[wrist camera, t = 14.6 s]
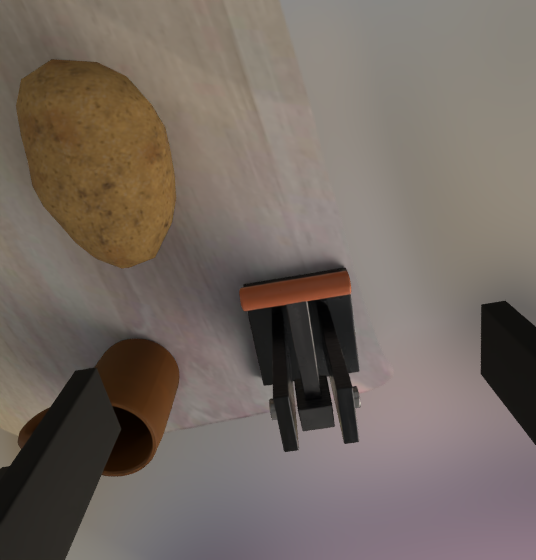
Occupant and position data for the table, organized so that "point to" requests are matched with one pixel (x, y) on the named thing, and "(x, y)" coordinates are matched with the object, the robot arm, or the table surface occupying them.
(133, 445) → the mug
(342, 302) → the bracket
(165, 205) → the potato
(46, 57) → the table surface
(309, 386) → the lever
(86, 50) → the table surface
